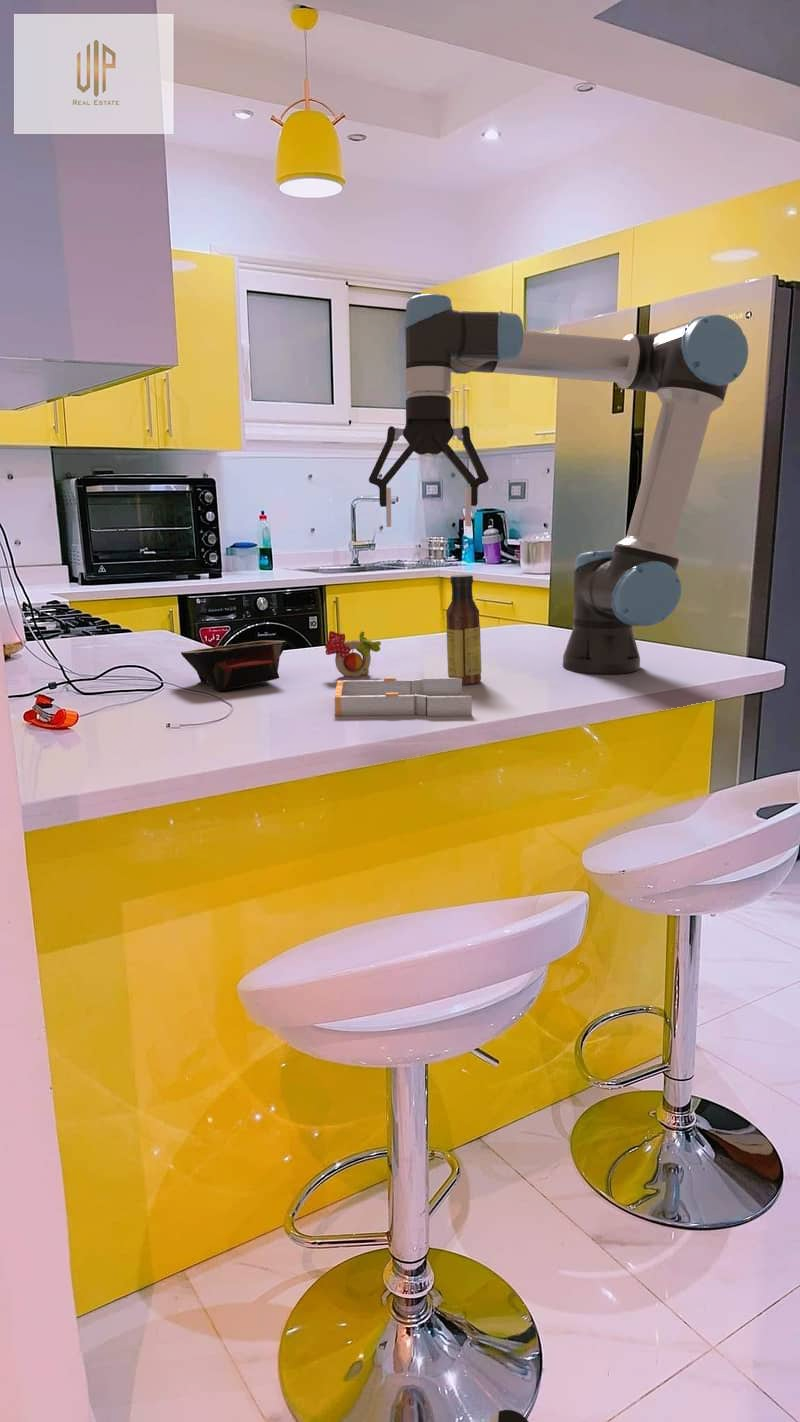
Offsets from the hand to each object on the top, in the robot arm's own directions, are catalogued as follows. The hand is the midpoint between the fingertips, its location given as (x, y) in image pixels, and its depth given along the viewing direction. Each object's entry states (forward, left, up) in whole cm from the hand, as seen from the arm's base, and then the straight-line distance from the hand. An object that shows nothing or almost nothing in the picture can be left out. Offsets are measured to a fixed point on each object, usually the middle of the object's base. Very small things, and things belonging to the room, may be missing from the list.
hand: (428, 526), depth 158 cm
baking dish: (+34, -8, -30) cm, 46 cm away
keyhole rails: (+5, +12, -29) cm, 31 cm away
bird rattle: (+14, -13, -29) cm, 35 cm away
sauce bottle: (-7, -7, -29) cm, 31 cm away
